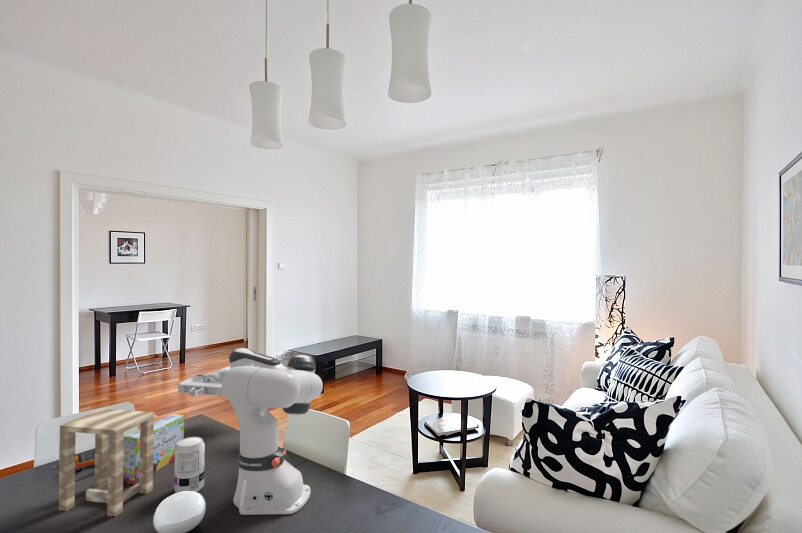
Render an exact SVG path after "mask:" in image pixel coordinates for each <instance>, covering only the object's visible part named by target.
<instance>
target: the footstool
mask: <svg viewBox="0 0 802 533" xmlns="http://www.w3.org/2000/svg"><path fill="white" fill-rule="evenodd" d="M154 414H155V412H152V411H141V410H129V409H128V410H127V409H113V408H100V409H98V410H95V411H93V412H91V413H87V414H85V415H83V416H81V417H78V418H76V419H72V420H70V421H68V422H65V423H63V424H61V425H59V446H58V447H59V452H58V453H59V454H58V455H59V458H58V461H59V462H58V465H59V466H58V511H62V512H63V511H64V512H67V511H69V510H70V509H72V508H74V507H76V505H75V504H76V502H75V501H76V500H75V498H76V497H75V494H76V470H75V456H76V433H81V434H92V435H94V450H95V464H94V488H90V487H89V488H88V489H86V490H85V501H86V502H95V503H105V504H107V506H106V507H107V508H106V516H107V517H112V516H116V517H117V516H118V515H120V514H121V513H122V512H123V510H124V509H123V507H124V506H123V504H124V503H125V502H126V501H128V500H129V499H130V498H132V497H133V496H134V495H136V494H137V493H139V494H144V495H147V494H149V493H150V492H151V491H153V490H154V473H153V436H154V422H155V420H154V419H155V415H154ZM138 426H139V429H140V477H139V482H138V483H137V484H135V485H134V484H133V486H131V487H130V488H128V489H126V491H124V482H123V443H124V436H125V435H124V433H125V432H127V431H129V430H131V429H133V428H135V427H138Z"/></svg>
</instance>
